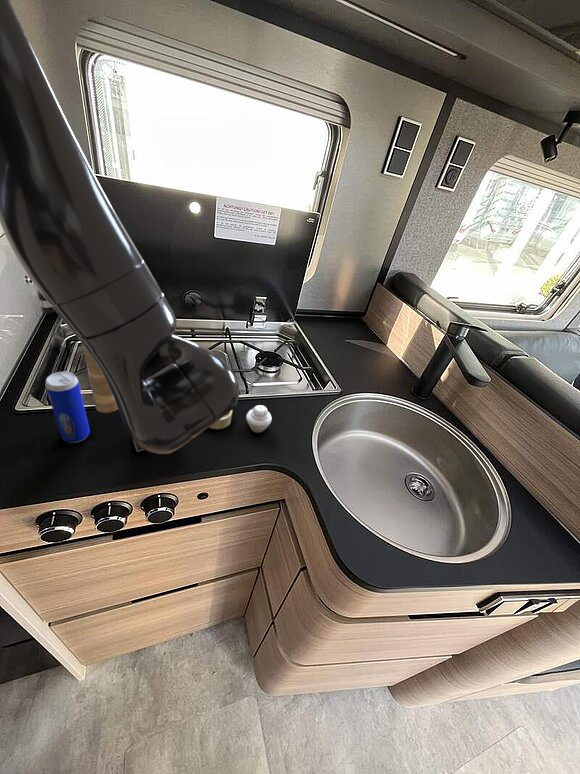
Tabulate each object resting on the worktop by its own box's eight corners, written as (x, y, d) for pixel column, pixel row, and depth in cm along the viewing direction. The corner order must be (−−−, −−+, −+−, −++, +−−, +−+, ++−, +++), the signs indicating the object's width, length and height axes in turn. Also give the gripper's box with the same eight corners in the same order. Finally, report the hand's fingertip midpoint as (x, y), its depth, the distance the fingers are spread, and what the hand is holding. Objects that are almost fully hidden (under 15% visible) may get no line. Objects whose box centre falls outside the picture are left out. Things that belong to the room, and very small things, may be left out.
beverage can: (55, 438, 69) (36, 380, 60) (77, 423, 73) (62, 367, 64) (75, 448, 68) (58, 390, 59) (96, 432, 72) (83, 376, 63)
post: (99, 415, 59) (70, 270, 44) (92, 402, 62) (62, 260, 47) (124, 408, 62) (104, 269, 47) (116, 395, 64) (95, 259, 49)
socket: (211, 433, 78) (211, 423, 77) (197, 415, 82) (197, 406, 80) (236, 423, 82) (237, 414, 81) (221, 406, 86) (222, 397, 85)
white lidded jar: (274, 432, 82) (278, 411, 78) (253, 440, 79) (256, 418, 75) (261, 416, 86) (264, 396, 82) (240, 423, 82) (243, 402, 78)
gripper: (177, 287, 42) (128, 244, 52) (41, 298, 34) (12, 245, 43) (177, 339, 46) (132, 291, 56) (57, 361, 38) (28, 300, 47)
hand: (80, 271), depth 49 cm, fingers closed on post, 4 cm apart
